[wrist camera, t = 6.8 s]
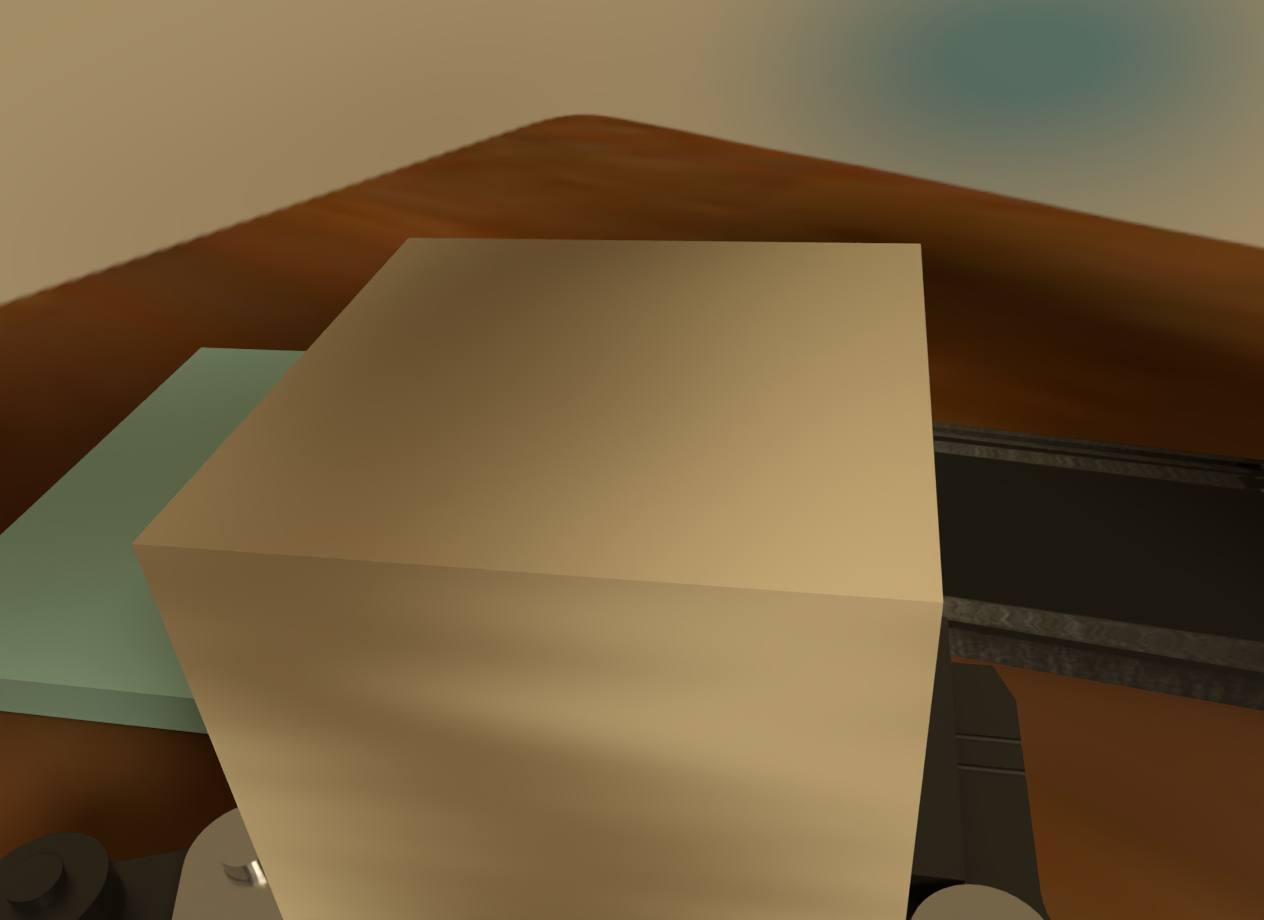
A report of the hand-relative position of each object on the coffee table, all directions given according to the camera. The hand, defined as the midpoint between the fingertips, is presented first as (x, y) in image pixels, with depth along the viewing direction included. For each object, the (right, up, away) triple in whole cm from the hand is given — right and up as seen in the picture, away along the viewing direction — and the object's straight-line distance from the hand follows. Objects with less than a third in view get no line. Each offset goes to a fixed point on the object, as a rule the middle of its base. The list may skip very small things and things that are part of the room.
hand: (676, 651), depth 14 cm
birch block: (0, -7, +1) cm, 7 cm away
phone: (+8, 0, +12) cm, 14 cm away
